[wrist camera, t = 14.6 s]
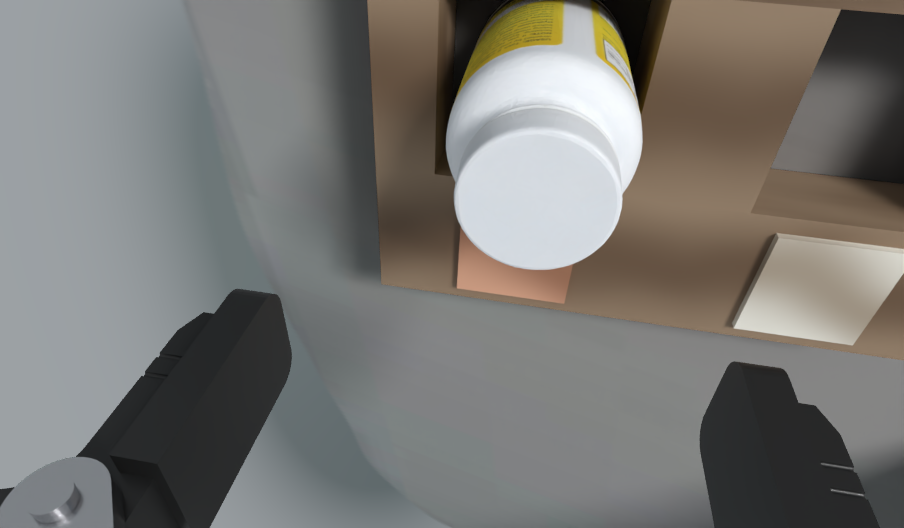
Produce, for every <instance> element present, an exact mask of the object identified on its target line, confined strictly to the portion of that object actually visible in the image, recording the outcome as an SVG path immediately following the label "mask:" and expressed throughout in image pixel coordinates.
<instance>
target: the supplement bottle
mask: <svg viewBox="0 0 904 528" xmlns="http://www.w3.org/2000/svg"><path fill="white" fill-rule="evenodd" d="M642 143H643V141H642V121H641V114H640V110H639V106H638V100H637V97H636V92H635V87H634V83H633V79H632V74H631V70H630V65H629V60H628V55H627V50H626V45H625V42H624V38H623V35H622V32H621V30H620V27H619V25H618V23H617V21H616V19H615V18H614V16H613V15H612V13H611V12H610V11H609V9H608V8H607V7H606V6H605V5H604V4H603V3H602V2H601V1H600V0H507V1H505V2H504V3H503V4H502V5H501V6H500V7H499V8H498V9H497V10H496V11H495V12H494V13H493V14H492V15H491V17H490V18H489V20H488V21H487V23H486V24H485V26H484V28H483V30H482V31H481V34H480V36H479V38H478V40H477V43H476V46H475V49H474V51H473V54H472V56H471V59H470V61H469V64H468V66H467V69H466V72H465V74H464V77H463V79H462V82H461V85H460V88H459V90H458V93H457V96H456V99H455V102H454V104H453V107H452V110H451V113H450V117H449V122H448V127H447V133H446V153H447V159H448V163H449V167H450V170H451V173H452V175H453V178H454V180H455V182H456V183H455V188H454V206H455V211H456V216H457V219H458V222H459V224H460V226H461V228H462V230H463V231H464V233H465V234H466V236H467V237H468V238H469V240H470V241H471V242H472V243H473V244H474V245H475V246H476V247H477V248H478V249H480V250H481V251H482V252H484V253H485V254H486V255H488V256H490V257H491V258H493V259H495V260H497V261H499V262H501V263H504V264H506V265H509V266H513V267H517V268H522V269H530V270H550V269H556V268H561V267H565V266H569V265H572V264H574V263H576V262H579V261H581V260H583V259H585V258H586V257H588V256H590V255H591V254H592V253H594V252H595V251H596V250H597V249H598V248H600V247H601V246H602V245H603V244H604V243H605V242H606V241H607V239H608V238H609V237H610V236H611V234H612V232H613V231H614V229H615V227H616V225H617V223H618V220H619V217H620V213H621V209H622V194H623V193H624V191H625V190H626V188H627V187H628V185H629V184H630V182H631V180H632V178H633V176H634V174H635V172H636V169H637V166H638V163H639V160H640V156H641V151H642Z"/></svg>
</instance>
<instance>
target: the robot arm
mask: <svg viewBox="0 0 904 528" xmlns="http://www.w3.org/2000/svg"><path fill="white" fill-rule="evenodd" d="M291 359H292V353H291V347H290V342H289V337H288V332H287V328H286V323H285V318H284V314H283V309H282V304H281V300H280V298H279V297H278V295H276V294H270V293H263V292H256V291H249V290H242V289H235V290H233V291H232V292H231V293H230V294H229V295H228V296H227V297H226V299H225V300H224V302H223V303H222V304H221V305H220V307H219V308H218V310H217V311H216V312H215V313H214V314H211V313H205V312H203V313H202V314H201V315H199V316H198V317H196V318H195V319H193V320H192V321H190V322H189V323H187V324H186V325H185V326H183V327H182V328H180V329H179V330H178V331H177V332H176V333H175V334H174V336H173V337H172V338H171V340H170V341H169V342H168V343H167V344H166V346H165V347H164V348H163V349H162V351H161V352H160V356H159V358H158V357H156V358H155V360H154V361H153V362H152V363H151V365H150V366H149V367H148V369H147V370H146V371H145V375H144V377H143V376H141V377H140V379H139V380H138V381H137V382H136V384H135V385H134V386H133V388H132V389H131V390H130V391H129V392H128V394H127V395H126V396H125V397H124V399H123V400H122V401H121V402H120V404H119V405H118V406H117V407H116V409H115V410H114V411H113V413H112V414H111V415H110V416H109V418H108V419H107V420H106V421H105V423H104V424H103V425H102V427H101V428H100V429H99V430H98V432H97V433H96V434H95V435H94V437H93V438H92V439H91V440H90V442H89V443H88V444H87V445H86V447H85V448H84V449H83V450H82V451H81V452H80V453H79V454H78V455H77V456H76V457H72V458H66V459H62V460H59V461H56V462H53V463H50V464H48V465H46V466H44V467H42V468H40V469H38V470H37V471H35V472H33V473H32V474H30V475H29V476H27V477H26V478H25V479H24V480H23V481H21V482H20V483H19V484H18V485H17V486H16V487H13V488H7V489H0V528H210V526H211V523H212V522H213V520H214V518H215V516H216V514H217V512H218V511H219V509H220V507H221V505H222V503H223V501H224V499H225V497H226V495H227V493H228V492H229V490H230V488H231V486H232V484H233V482H234V480H235V478H236V476H237V474H238V473H239V471H240V468H241V466H242V465H243V463H244V461H245V459H246V457H247V455H248V454H249V452H250V450H251V448H252V446H253V444H254V442H255V440H256V438H257V436H258V435H259V433H260V431H261V429H262V427H263V425H264V423H265V421H266V419H267V417H268V415H269V414H270V412H271V410H272V408H273V406H274V404H275V402H276V400H277V398H278V397H279V394H280V393H281V391H282V389H283V387H284V385H285V383H286V381H287V378H288V375H289V372H290V367H291ZM700 452H701V458H702V463H703V468H704V473H705V479H706V484H707V489H708V495H709V500H710V505H711V510H712V516H713V521H714V526H715V528H880V527H879V525H878V522H877V520H876V518H875V515H874V513H873V511H872V508H871V506H870V503H869V501H868V500H866V499H865V498H864V494H865V492H864V489H863V487H862V485H861V482H860V480H859V477H858V475H857V473H855V472H854V471H853V467H854V466H853V463H852V461H851V459H850V456H849V454H848V451H847V449H846V447H845V444H844V442H843V440H842V437H841V435H840V434H839V432H838V431H837V430H836V429H835V428H834V427H833V426H832V424H831V423H830V422H829V421H828V420H827V419H826V417H825V416H824V415H823V414H822V413H821V412H820V411H819V409H818V408H817V407H816V406H814V405H808V404H801V403H798V400H797V398H796V395H795V392H794V390H793V387H792V384H791V382H790V379H789V377H788V375H787V373H786V372H785V371H784V370H783V369H781V368H776V367H769V366H762V365H755V364H748V363H741V362H732V363H730V364H729V366H728V367H727V369H726V371H725V373H724V375H723V377H722V379H721V381H720V383H719V385H718V387H717V390H716V392H715V394H714V396H713V398H712V400H711V402H710V404H709V406H708V408H707V410H706V413H705V415H704V417H703V420H702V424H701V430H700Z"/></svg>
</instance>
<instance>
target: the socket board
mask: <svg viewBox="0 0 904 528" xmlns="http://www.w3.org/2000/svg"><path fill="white" fill-rule="evenodd" d="M456 4H457V0H367V5H368V25H369V45H370V65H371V85H372V105H373V124H374V144H375V164H376V184H377V204H378V224H379V244H380V264H381V284H384V285H391V286H398V287H404V288H411V289H418V290H425V291H432V292H439V293H446V294H452V295H459V296H466V297H473V298H480V299H487V300H494V301H500V302H507V303H514V304H521V305H528V306H535V307H542V308H548V309H555V310H562V311H569V312H576V313H583V314H590V315H596V316H603V317H610V318H617V319H624V320H631V321H638V322H644V323H651V324H658V325H665V326H672V327H679V328H686V329H693V330H699V331H706V332H713V333H720V334H727V335H734V336H741V337H747V338H754V339H761V340H768V341H775V342H782V343H789V344H795V345H802V346H809V347H816V348H823V349H830V350H837V351H843V352H850V353H857V354H864V355H871V356H878V357H885V358H891V359H898V360H904V184H899V183H890V182H882V181H873V180H864V179H856V178H847V177H838V176H829V175H821V174H812V173H803V172H795V171H786V170H777V169H770V168H771V166H772V163H773V161H774V159H775V157H776V154H777V152H778V150H779V148H780V146H781V143H782V141H783V139H784V137H785V134H786V132H787V130H788V128H789V125H790V123H791V121H792V119H793V116H794V114H795V112H796V110H797V107H798V105H799V103H800V101H801V98H802V96H803V94H804V92H805V89H806V87H807V85H808V83H809V80H810V78H811V76H812V74H813V71H814V69H815V67H816V65H817V62H818V60H819V58H820V56H821V53H822V51H823V49H824V47H825V44H826V42H827V40H828V38H829V35H830V33H831V31H832V29H833V26H834V24H835V22H836V20H837V17H838V15H839V13H840V11H841V9H844V10H856V11H868V12H879V13H891V14H903V15H904V0H651V4H650V8H649V12H648V16H647V20H646V24H645V28H644V32H643V37H642V41H641V45H640V49H639V53H638V57H637V61H636V65H635V69H634V73H633V77H632V79H633V83H634V87H635V92H636V97H637V100H638V106H639V110H640V114H641V121H642V141H643V143H642V151H641V156H640V160H639V163H638V166H637V169H636V172H635V174H634V176H633V178H632V180H631V182H630V184H629V185H628V187H627V188H626V190H625V191H624V193H623V194H622V209H621V213H620V217H619V220H618V223H617V225H616V227H615V229H614V231H613V232H612V234H611V236H610V237H609V238H608V239H607V241H606V242H605V243H604V244H603V245H602V246H601V247H600V248H598V249H597V250H596V251H595V252H594V253H592V254H591V255H590V256H588V257H586V258H585V259H583V260H581V261H579V262H576V263H574V264H572V265H569V266H565V267H561V268H556V269H550V270H530V269H522V268H517V267H513V266H509V265H506V264H504V263H501V262H499V261H497V260H495V259H493V258H491V257H490V256H488V255H486V254H485V253H484V252H482V251H481V250H480V249H478V248H477V247H476V246H475V245H474V244H473V243H472V242H471V241H470V240H469V238H468V237H467V236H466V234H465V233H464V231H463V230H462V228H461V226H460V224H459V222H458V219H457V216H456V211H455V206H454V188H455V183H456V182H455V180H454V178H453V175H452V173H451V170H450V167H449V163H448V159H447V153H446V133H447V127H448V122H449V117H450V113H451V110H452V98H453V74H454V51H455V27H456Z"/></svg>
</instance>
